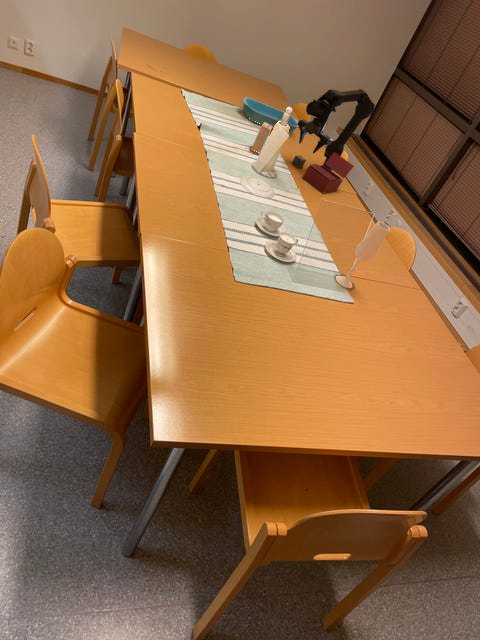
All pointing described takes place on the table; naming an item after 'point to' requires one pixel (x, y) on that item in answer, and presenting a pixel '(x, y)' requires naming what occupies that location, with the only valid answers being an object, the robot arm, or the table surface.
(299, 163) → the block
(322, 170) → the dark red open box
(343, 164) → the flap
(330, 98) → the robot arm
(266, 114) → the casserole dish
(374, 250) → the champagne flute
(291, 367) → the table surface
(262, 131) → the supplement box
